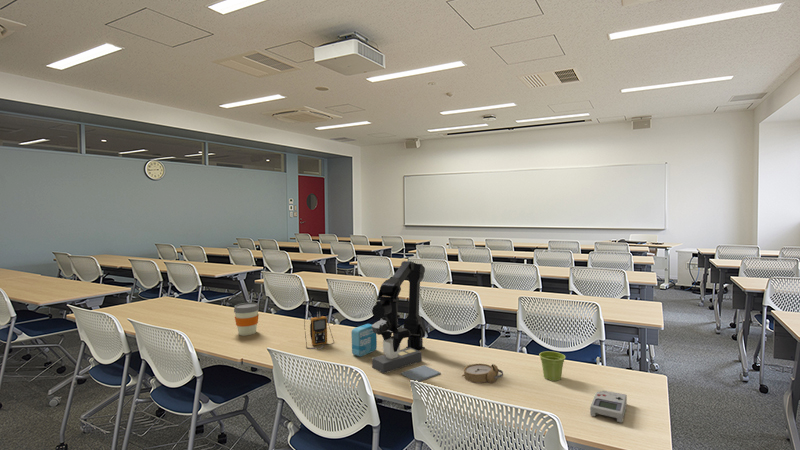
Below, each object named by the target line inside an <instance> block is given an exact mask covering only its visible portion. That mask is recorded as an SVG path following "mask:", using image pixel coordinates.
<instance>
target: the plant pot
mask: <svg viewBox="0 0 800 450" xmlns="http://www.w3.org/2000/svg"><path fill="white" fill-rule="evenodd" d="M538 355H539V358H540V361H541V366H542V373H543V377H544V379H545V380H549V381H552V382H557V381H559V380H561V379H562V373H563V368H564V363H565V360H566V355H565V354H563V353H560V352H558V351H557V352H556V351H550V350H549V351H542V352H540V353H539V354H538Z"/></svg>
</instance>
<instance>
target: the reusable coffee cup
mask: <svg viewBox="0 0 800 450" xmlns="http://www.w3.org/2000/svg"><path fill="white" fill-rule="evenodd" d="M259 307H260V306H259V303H258V302H257V303H256V302H244V303H238V304H236V305H234V308H233V312H234V320H235V325H236V328H237V331H238V332H237V333H238V335H239V336H250V335H251V336H252V335H254V334H256V333H257V328H258V327H257V326H258V323H259V310H260V308H259Z"/></svg>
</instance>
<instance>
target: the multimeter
mask: <svg viewBox="0 0 800 450" xmlns="http://www.w3.org/2000/svg"><path fill="white" fill-rule="evenodd" d="M321 304H324V306H325V307H326V308H327V311H329V307H328V306H327V304H326V303H324V302H320V303H319V305H318V306H317V305H316V304H314V306H315V308H316V316H315V317H311V318H310V325H309V326H310V327H309V329H310V330H309V334H310V339H311V344H312V346H318V345H322V346H320V348H319V350H321V349H323V348H324V347H325V346H330V345H333V344H334V342H335V340H334V337H333V334H332V331H331V327H330V325H329V322H328V317H327V316H323V315H322V316H321V311H320V310H321V309H320V308H321V307H320V305H321ZM309 307H311V304H309V305H308V306H307V308H306V311H305V313H304V316H306V315H307V310H308V309H309ZM303 321H304V324H303V325H304V328H303V329H306V319H304V320H303ZM328 328H329V332H330V335H331V338H332V341H333V343H328ZM304 335H305V337H304V338H305V339H307V335H306V332H304ZM305 344H306V346H305V348H306V349H308V345H307V344H308V343H307V341H305ZM323 344H324V345H323ZM309 349H312V350H313V349H314V350H316V347H309Z"/></svg>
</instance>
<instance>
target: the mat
mask: <svg viewBox="0 0 800 450" xmlns="http://www.w3.org/2000/svg"><path fill="white" fill-rule="evenodd" d="M400 374H401V375H402V376H404V377H406V378H408V379H410V380H412V379H413V380H412V381H414V380H417V381H419V382H422V381H425V380H427V379H431V378H433V377H436V376H438V375H441V372H440V371H438V370H436V369H434V368H432V367H429V366H427V365H425V364H423V365H420V366H417V367H413V368H411V369H408V370H405V371H402V372H400Z"/></svg>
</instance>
